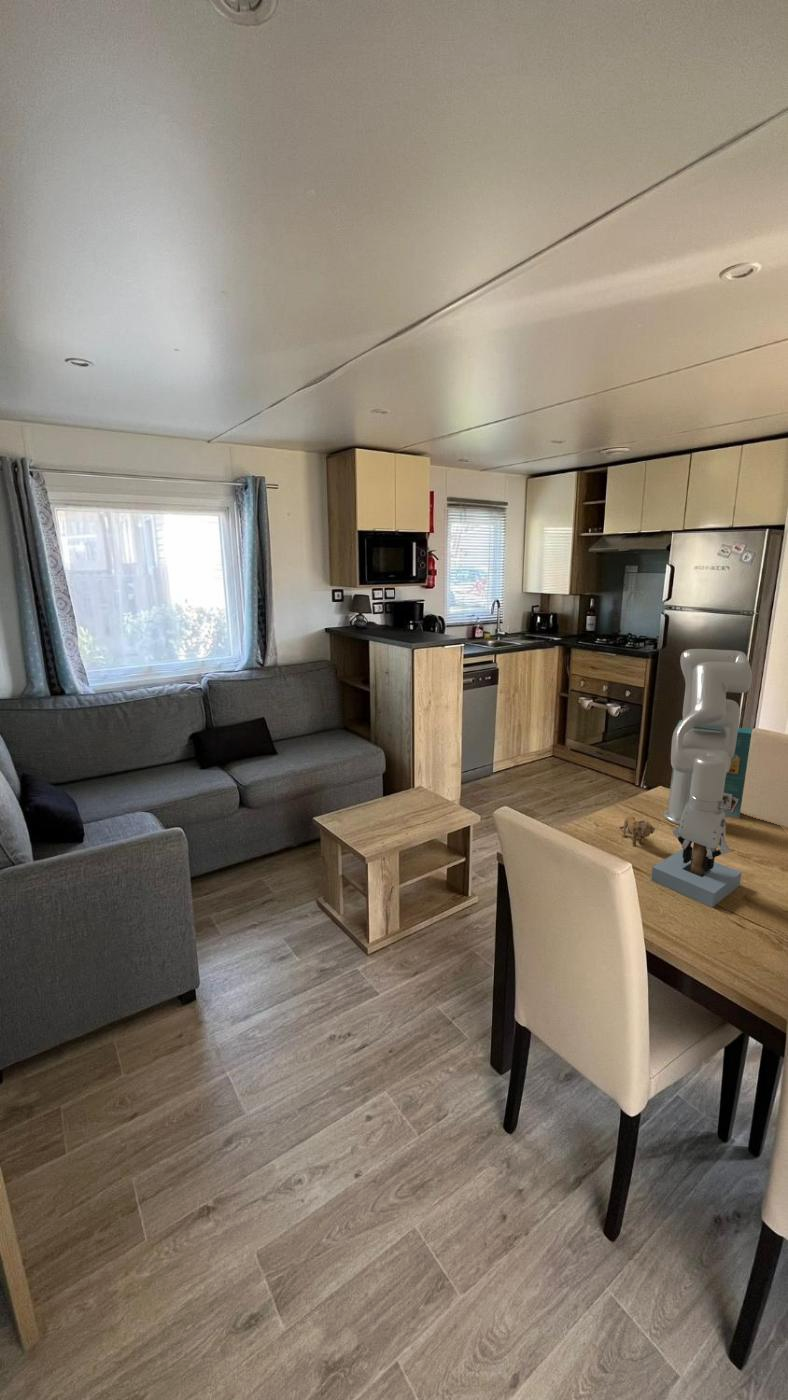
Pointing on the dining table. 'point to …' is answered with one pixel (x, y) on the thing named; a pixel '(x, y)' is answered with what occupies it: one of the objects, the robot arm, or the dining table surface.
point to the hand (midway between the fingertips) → (697, 865)
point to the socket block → (696, 879)
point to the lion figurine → (637, 829)
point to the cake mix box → (733, 772)
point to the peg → (698, 859)
